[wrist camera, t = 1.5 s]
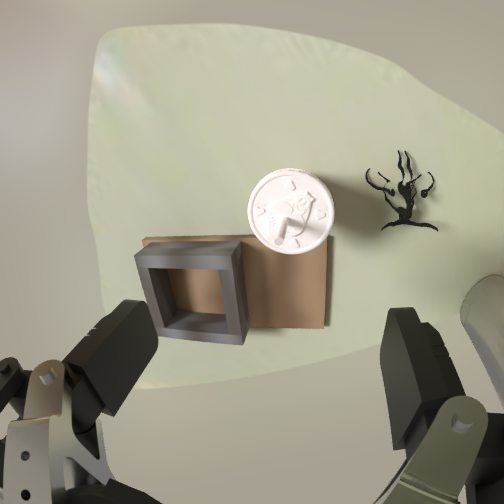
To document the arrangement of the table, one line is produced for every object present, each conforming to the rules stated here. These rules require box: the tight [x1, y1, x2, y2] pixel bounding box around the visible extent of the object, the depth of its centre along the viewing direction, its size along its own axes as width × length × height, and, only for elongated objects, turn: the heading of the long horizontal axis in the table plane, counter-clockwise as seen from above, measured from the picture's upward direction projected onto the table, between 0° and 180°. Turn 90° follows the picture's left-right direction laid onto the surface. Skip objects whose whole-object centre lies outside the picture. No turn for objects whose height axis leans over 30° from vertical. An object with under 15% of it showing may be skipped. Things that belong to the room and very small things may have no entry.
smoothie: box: [248, 168, 335, 254], centre depth 23 cm, size 6×6×14 cm
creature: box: [366, 150, 438, 231], centre depth 24 cm, size 8×5×8 cm
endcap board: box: [134, 235, 327, 345], centre depth 33 cm, size 22×12×5 cm, turn 95°
